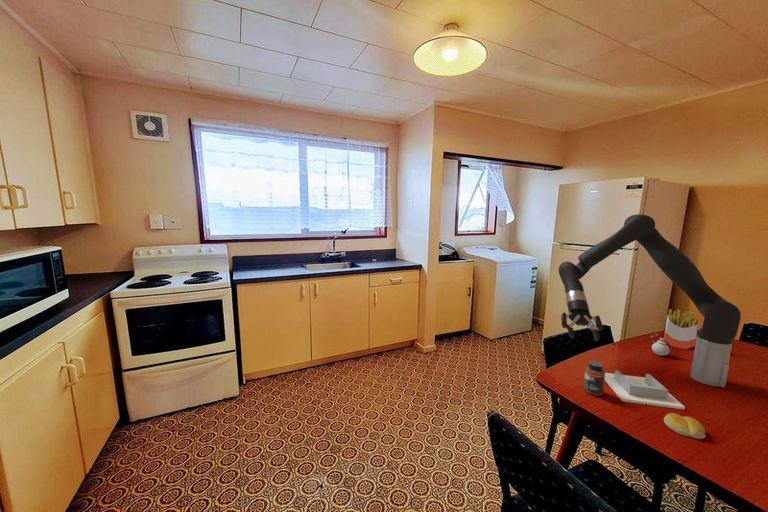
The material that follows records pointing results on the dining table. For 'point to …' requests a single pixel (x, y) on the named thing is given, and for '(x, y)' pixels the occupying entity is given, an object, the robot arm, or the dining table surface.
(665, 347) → the ornament
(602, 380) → the supplement bottle
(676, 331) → the french fries container
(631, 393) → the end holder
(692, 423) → the bread roll
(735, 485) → the dining table surface
